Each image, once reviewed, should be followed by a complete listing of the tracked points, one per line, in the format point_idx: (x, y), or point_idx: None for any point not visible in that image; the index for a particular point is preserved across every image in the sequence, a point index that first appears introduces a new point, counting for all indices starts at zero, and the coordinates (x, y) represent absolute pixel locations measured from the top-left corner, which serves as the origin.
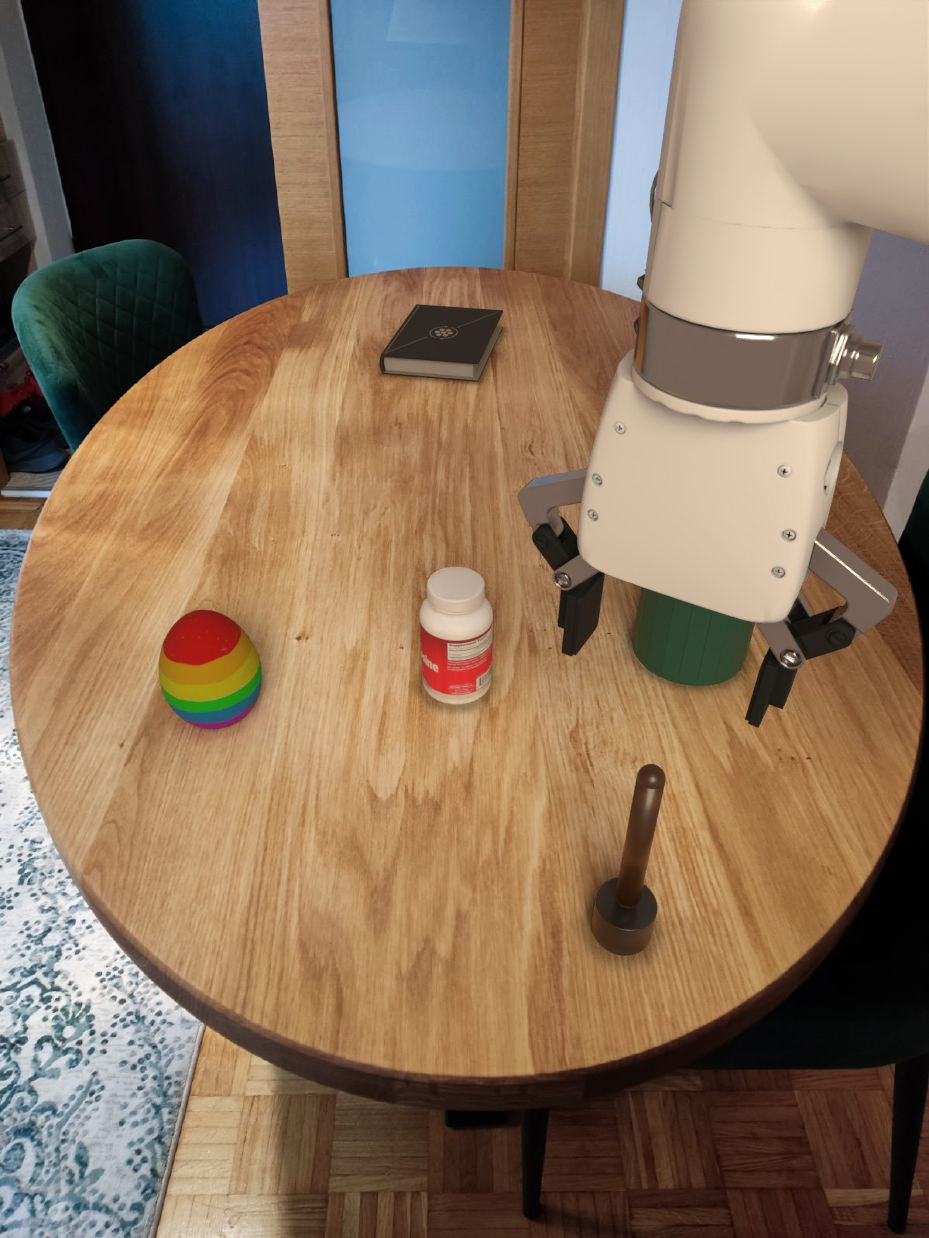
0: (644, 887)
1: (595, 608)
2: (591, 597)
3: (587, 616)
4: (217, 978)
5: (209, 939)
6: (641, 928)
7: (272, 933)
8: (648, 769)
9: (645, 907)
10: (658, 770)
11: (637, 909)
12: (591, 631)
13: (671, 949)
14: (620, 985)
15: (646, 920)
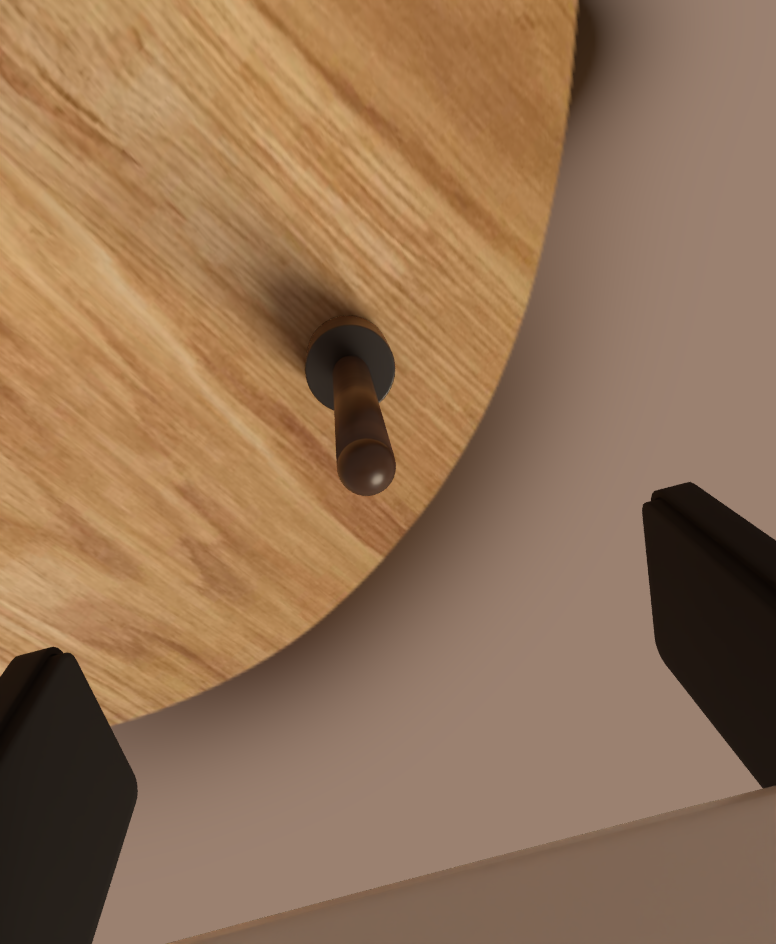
0: (353, 329)
1: (45, 772)
2: (31, 904)
3: (72, 839)
4: None
5: None
6: (390, 388)
7: None
8: (362, 484)
9: (374, 357)
10: (378, 470)
11: (368, 367)
12: (86, 705)
13: (415, 333)
14: (395, 420)
15: (388, 372)
